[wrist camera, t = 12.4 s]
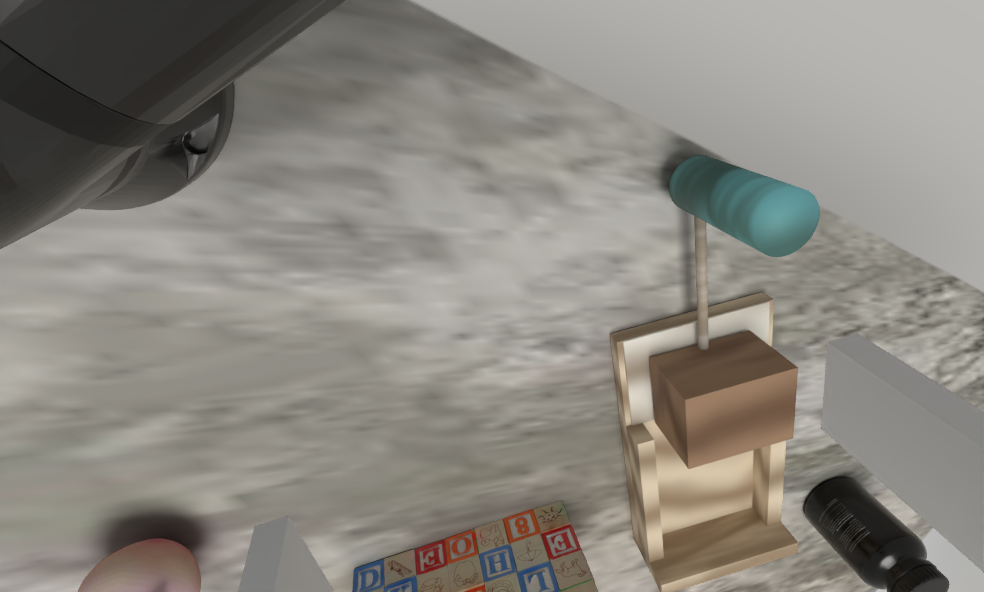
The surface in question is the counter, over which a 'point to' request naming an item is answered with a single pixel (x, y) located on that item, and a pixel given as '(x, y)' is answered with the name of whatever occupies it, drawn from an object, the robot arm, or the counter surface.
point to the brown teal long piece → (739, 357)
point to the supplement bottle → (872, 539)
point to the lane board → (707, 488)
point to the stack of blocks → (490, 559)
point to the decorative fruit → (146, 569)
